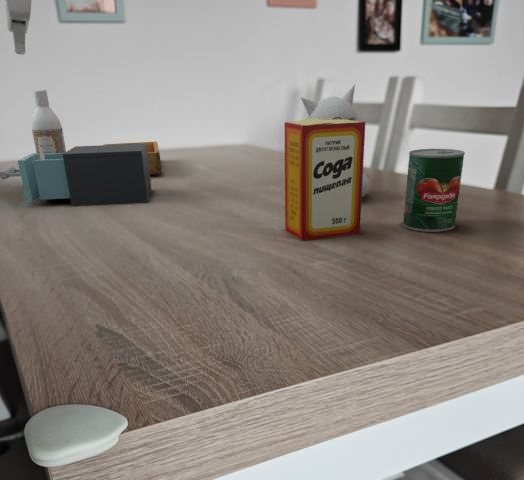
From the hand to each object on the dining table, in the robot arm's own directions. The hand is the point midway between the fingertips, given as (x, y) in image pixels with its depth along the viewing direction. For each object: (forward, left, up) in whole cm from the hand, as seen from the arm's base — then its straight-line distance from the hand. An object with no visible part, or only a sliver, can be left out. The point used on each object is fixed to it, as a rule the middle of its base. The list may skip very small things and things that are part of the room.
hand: (20, 53), depth 106 cm
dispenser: (+15, -6, -27) cm, 31 cm away
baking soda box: (+51, -42, -27) cm, 71 cm away
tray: (+14, +33, -27) cm, 45 cm away
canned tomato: (+68, -42, -27) cm, 84 cm away
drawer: (+3, -6, -26) cm, 27 cm away
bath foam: (-3, +24, -27) cm, 36 cm away
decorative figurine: (+58, -17, -27) cm, 66 cm away
